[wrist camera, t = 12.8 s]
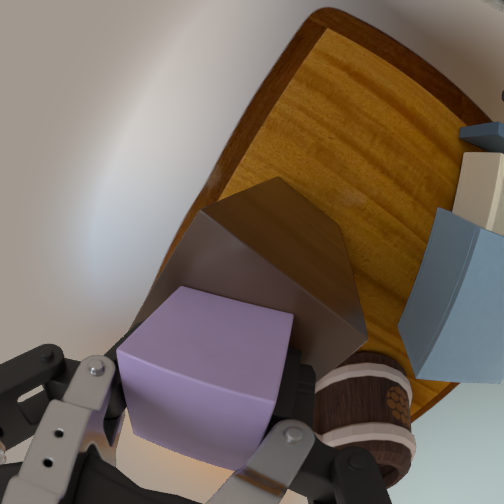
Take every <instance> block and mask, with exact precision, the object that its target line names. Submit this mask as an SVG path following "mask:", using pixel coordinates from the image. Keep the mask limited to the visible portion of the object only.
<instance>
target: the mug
mask: <svg viewBox="0 0 504 504" xmlns="http://www.w3.org/2000/svg"><path fill="white" fill-rule="evenodd" d="M411 400H412V390H411V386H410V382H409V380H408V379H407V378H406V374H405V371H404V369H403V368H402V367H401V366H400V365H399V364H398V363H397V361H395V360H393V359H391V358H389V357H387V356H384V355H381V354H374V353H366V352H365V353H356V354H351V355H350V356H349V357H348V358H347V359H345V360H344V361H343V362H342V363H341V364H339V365H338V366H337V367H336V368H334V369H333V370H332V371H331V372H329V373H328V374H327V375H326V376H324V377H323V378H322V379H320V380H319V381H318V382H317V383H316V385H315V399H314V411H313V421H312V428H313V431H314V433H315V435H316V436H317V438H318V439H319V440H320V441H322V442H323V443H325V444H327V445H329V446H331V447H333V448H336V449H338V450H342V449H343V448H345V447H349V446H359V447H362V448H365V449H367V450H368V451H369V452H370V453H371V454H372V455H373V456H374V458H375V460H376V463H377V465H378V468H379V470H380V473H381V476H382V478H383V481H384V484H385V486H386V489H388V488H390V487H391V486H393V485H395V484H396V483H397V482H399V480H401V479H402V478H403V477H404V476H405V475H406V474H407V473H408V471H409V469H410V466H411V461H412V460H413V457H414V455H415V452H416V442H415V438H414V435H413V434H412V433H411V419H410V405H411Z"/></svg>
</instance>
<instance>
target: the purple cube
mask: <svg viewBox="0 0 504 504" xmlns="http://www.w3.org/2000/svg"><path fill="white" fill-rule="evenodd" d="M293 318H294V315H293V314H290V313H286V312H282V311H277V310H273V309H269V308H265V307H261V306H257V305H253V304H248V303H244V302H241V301H237V300H233V299H229V298H225V297H221V296H217V295H214V294H210V293H206V292H202V291H199V290H195V289H191V288H188V287H184V286H180V287H179V288H178V289H177V290H176V291H175V292H174V293H173V294H172V295H171V296H170V297H169V298H168V299H167V300H166V301H165V302H164V303H163V304H162V305H161V306H160V307H159V308H158V309H157V310H156V311H155V312H154V313H153V314H151V315H150V316H149V317H148V318H147V319H146V320H145V321H144V322H143V323H142V324H141V325H140V326H139V327H138V328H137V329H136V330H135V331H134V332H133V333H132V334H131V335H130V336H129V337H128V338H127V339H126V340H125V341H124V342H123V343H122V344H121V345H120V346H119V347H118V348H117V350H116V353H117V359H118V365H119V371H120V376H121V381H122V386H123V391H124V396H125V400H126V405H127V409H128V413H129V417H130V421H131V425H132V429H133V433H134V434H135V435H137V436H139V437H141V438H143V439H146V440H148V441H150V442H152V443H155V444H157V445H159V446H162V447H165V448H167V449H169V450H172V451H174V452H177V453H180V454H183V455H185V456H188V457H191V458H194V459H196V460H199V461H203V462H206V463H209V464H212V465H215V466H218V467H222V468H226V469H229V470H233V471H236V470H237V469H240V468H242V467H243V465H244V464H245V463H246V462H247V461H248V459H249V458H250V457H251V456H252V454H253V453H254V452H255V450H256V449H257V448H258V447H259V445H260V444H261V443H262V440H263V438H264V435H265V432H266V430H267V427H268V424H269V421H270V419H271V416H272V413H273V410H274V407H275V404H276V401H277V396H278V392H279V387H280V383H281V378H282V373H283V369H284V364H285V359H286V354H287V349H288V344H289V339H290V334H291V329H292V323H293Z"/></svg>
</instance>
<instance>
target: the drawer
mask: <svg viewBox="0 0 504 504" xmlns="http://www.w3.org/2000/svg"><path fill="white" fill-rule="evenodd" d="M502 100H503V101H504V91H503V92H502ZM459 138H460V139H462V140H465V141H467V142H469V143H471V144H474V145H476V146H478V147H480V148H482V149H484V150H486V151H488V152H464V155H463V161H462V167H461V172H460V178H459V183H458V188H457V192H456V197H455V201H454V205H453V209H452V213H454V214H456V215H458V216H460V217H462V218H464V219H466V220H468V221H470V222H472V223H474V224H476V225H478V226H480V227H482V228H484V229H487V230H489V231H492V232H494V233H497V234H500V235H502V236H504V124H503V123H501V122H492V123H486V124H479V125H473V126H467V127H461V128H460V134H459Z"/></svg>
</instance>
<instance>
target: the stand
mask: <svg viewBox="0 0 504 504" xmlns="http://www.w3.org/2000/svg"><path fill="white" fill-rule="evenodd" d="M180 286H184V287H188V288H191V289H195V290H199V291H202V292H206V293H210V294H214V295H217V296H221V297H225V298H229V299H233V300H237V301H241V302H244V303H248V304H253V305H257V306H261V307H265V308H269V309H273V310H277V311H282V312H286V313H290V314H293V315H294V318H293V323H292V329H291V334H290V339H289V344H288V348H293V349H297V350H302V355H301V363H302V364H307V365H312V367H313V369H314V371H315V373H316V383H317V382H318V381H319V380H320V379H322V378H323V377H324V376H326V375H327V374H328V373H329V372H331V371H332V370H333V369H334V368H336V367H337V366H338V365H339V364H341V363H342V362H343V361H344V360H345V359H347V358H348V357H349V356H350V355H351V354H353V353H354V352H355V351H356V350H357V349H358V348H360V347H361V346H362V345H363V344H364V343H365V342H366V341H368V334H367V330H366V325H365V321H364V317H363V312H362V308H361V304H360V300H359V296H358V292H357V288H356V284H355V280H354V276H353V273H352V269H351V265H350V262H349V258H348V255H347V251H346V248H345V244H344V241H343V238H342V234H341V231H340V228H339V225H338V224H337V223H336V222H334V221H333V220H332V219H331V218H329V217H328V216H327V215H326V214H325V213H323V212H322V211H321V210H320V209H318V208H317V207H316V206H315V205H313V204H312V203H311V202H310V201H308V200H307V199H306V198H305V197H303V196H302V195H301V194H299V193H298V192H297V191H296V190H294V189H293V188H292V187H290V186H289V185H288V184H287V183H285V182H284V181H283V180H281V179H280V178H279V177H275V178H272V179H270V180H268V181H265V182H263V183H260V184H258V185H255V186H253V187H251V188H248V189H246V190H243V191H241V192H239V193H236V194H234V195H232V196H229V197H227V198H225V199H222V200H220V201H218V202H216V203H213V204H211V205H209V206H207V207H204V208H202V209H200V210H199V212H198V213H197V215H196V216H195V218H194V219H193V221H192V223H191V224H190V226H189V227H188V229H187V231H186V232H185V234H184V235H183V237H182V239H181V240H180V242H179V243H178V245H177V247H176V248H175V250H174V252H173V253H172V255H171V257H170V258H169V260H168V262H167V263H166V265H165V267H164V268H163V270H162V272H161V273H160V275H159V277H158V279H157V280H156V282H155V284H154V286H153V287H152V289H151V291H150V293H149V294H148V296H147V298H146V300H145V301H144V303H143V305H142V307H141V309H140V311H139V312H138V314H137V316H136V318H135V320H134V322H133V323H132V325H131V327H130V329H131V328H132V327H133V326H134V325H136V324H137V323H139V322H141V321H143V320H146V319H147V318H148V317H149V316H150V315H151V314H153V313H154V312H155V311H156V310H157V309H158V308H159V307H160V306H161V305H162V304H163V303H164V302H165V301H166V300H167V299H168V298H169V297H170V296H171V295H172V294H173V293H174V292H175V291H176V290H177V289H178V288H179V287H180ZM130 329H129V331H130Z"/></svg>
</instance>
